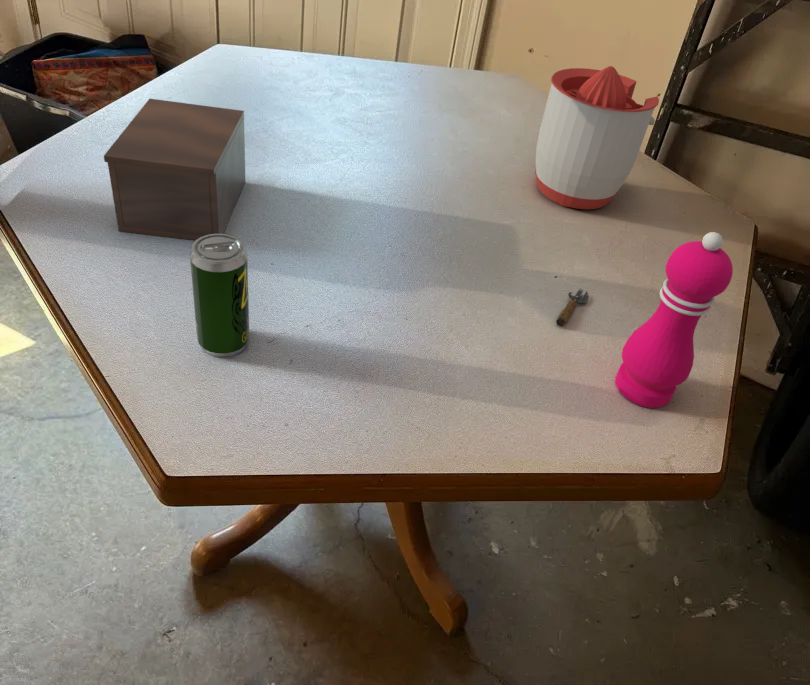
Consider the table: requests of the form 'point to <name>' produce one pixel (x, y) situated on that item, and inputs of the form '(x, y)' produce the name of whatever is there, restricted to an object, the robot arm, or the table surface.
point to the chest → (179, 196)
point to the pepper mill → (674, 323)
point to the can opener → (571, 306)
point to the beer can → (220, 294)
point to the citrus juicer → (589, 136)
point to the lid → (176, 137)
